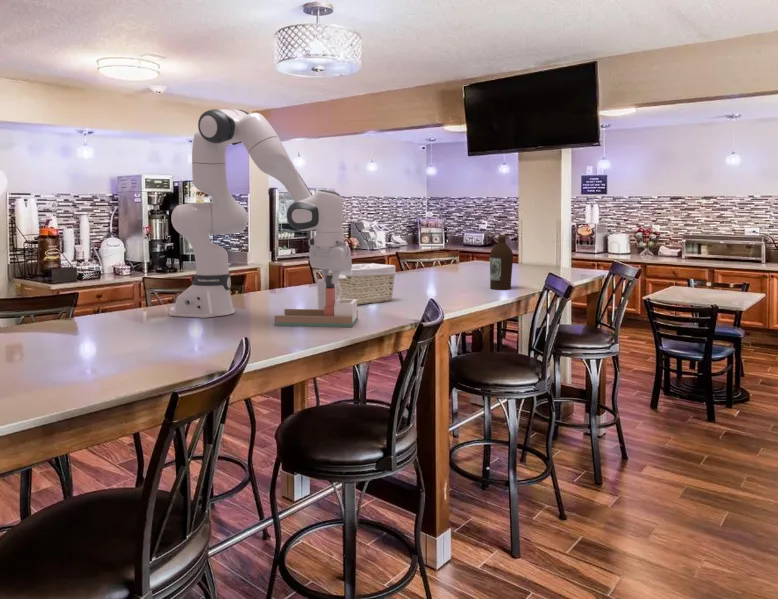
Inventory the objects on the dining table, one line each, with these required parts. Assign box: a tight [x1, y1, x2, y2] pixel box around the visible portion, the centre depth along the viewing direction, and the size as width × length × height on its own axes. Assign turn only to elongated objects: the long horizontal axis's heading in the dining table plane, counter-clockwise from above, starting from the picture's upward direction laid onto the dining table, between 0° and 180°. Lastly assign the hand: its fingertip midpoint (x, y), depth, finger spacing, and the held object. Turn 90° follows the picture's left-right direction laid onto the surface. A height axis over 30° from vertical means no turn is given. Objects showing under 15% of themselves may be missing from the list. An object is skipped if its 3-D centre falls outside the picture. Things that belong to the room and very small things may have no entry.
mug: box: [316, 278, 342, 309], centre depth 225 cm, size 10×7×12 cm, turn 134°
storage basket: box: [328, 262, 397, 306], centre depth 251 cm, size 24×16×15 cm
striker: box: [324, 275, 335, 316], centre depth 205 cm, size 3×7×14 cm, turn 175°
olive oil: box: [489, 234, 514, 291], centre depth 289 cm, size 11×11×25 cm
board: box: [274, 299, 359, 328], centre depth 206 cm, size 25×14×7 cm, turn 85°
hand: (330, 283), depth 205 cm, fingers closed on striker, 3 cm apart
